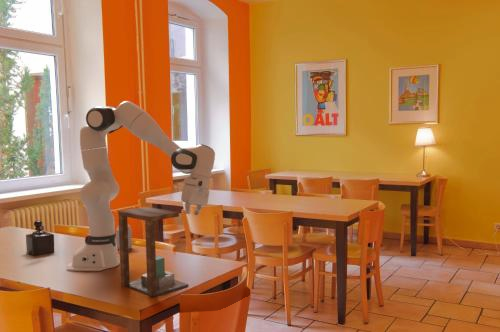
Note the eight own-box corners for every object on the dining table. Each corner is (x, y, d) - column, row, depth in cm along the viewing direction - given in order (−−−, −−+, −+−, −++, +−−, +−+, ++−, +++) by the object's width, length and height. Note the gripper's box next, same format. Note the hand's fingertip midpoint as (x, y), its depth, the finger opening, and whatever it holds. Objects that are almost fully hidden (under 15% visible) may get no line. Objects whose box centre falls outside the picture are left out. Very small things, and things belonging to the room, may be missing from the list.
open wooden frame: (149, 276, 199) (146, 206, 197) (180, 287, 185) (178, 212, 183) (120, 283, 190) (117, 211, 188) (151, 296, 175) (149, 217, 173)
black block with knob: (24, 253, 245) (22, 217, 243) (46, 249, 252) (45, 214, 251) (36, 258, 234) (35, 221, 232) (59, 254, 241) (57, 218, 240)
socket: (157, 276, 202) (157, 265, 202) (188, 286, 188) (188, 275, 188) (124, 285, 191) (123, 274, 190) (153, 297, 177) (153, 285, 176)
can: (118, 247, 254) (117, 224, 253) (133, 246, 254) (132, 224, 253) (115, 250, 246) (114, 227, 245) (130, 250, 247) (129, 226, 246)
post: (159, 280, 193) (158, 256, 192) (165, 283, 190) (164, 257, 189) (150, 283, 190) (149, 258, 189) (156, 285, 187) (155, 260, 187)
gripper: (202, 183, 218) (195, 214, 217) (182, 178, 199) (174, 211, 198) (214, 186, 216) (208, 217, 215) (196, 181, 197) (188, 214, 196)
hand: (191, 214), depth 206 cm, fingers open, 8 cm apart
